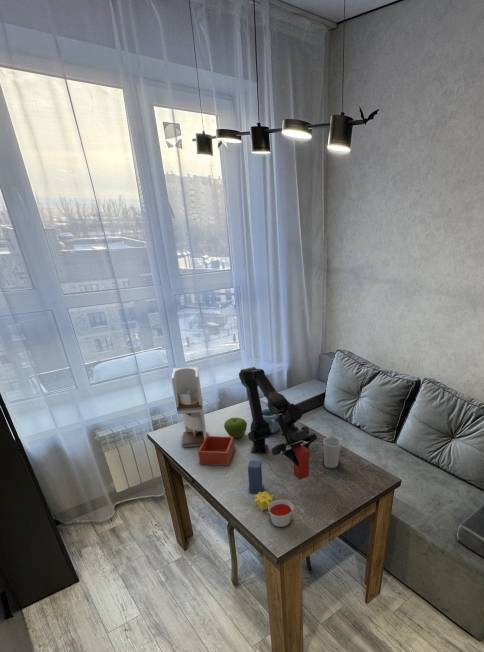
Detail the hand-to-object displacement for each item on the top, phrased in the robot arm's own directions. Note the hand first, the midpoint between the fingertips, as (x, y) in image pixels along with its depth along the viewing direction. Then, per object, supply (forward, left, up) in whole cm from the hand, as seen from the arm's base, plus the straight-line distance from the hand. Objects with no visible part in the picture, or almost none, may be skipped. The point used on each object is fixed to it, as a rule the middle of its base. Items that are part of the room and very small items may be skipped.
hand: (303, 463), depth 157 cm
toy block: (+11, -14, -13) cm, 22 cm away
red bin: (-22, -40, -13) cm, 48 cm away
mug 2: (-31, -4, -13) cm, 34 cm away
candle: (+19, -7, -13) cm, 24 cm away
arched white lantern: (-35, -54, -13) cm, 66 cm away
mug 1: (-46, -19, -13) cm, 52 cm away
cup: (-19, +12, -13) cm, 26 cm away
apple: (-40, -35, -13) cm, 55 cm away
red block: (-1, -1, -7) cm, 7 cm away
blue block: (+1, -19, -13) cm, 23 cm away
